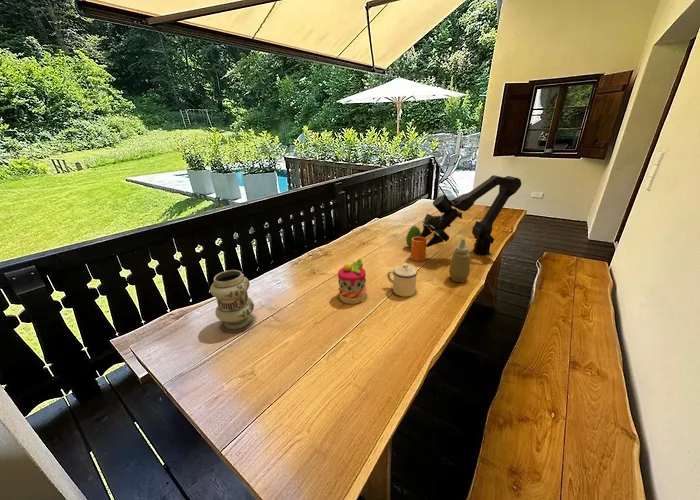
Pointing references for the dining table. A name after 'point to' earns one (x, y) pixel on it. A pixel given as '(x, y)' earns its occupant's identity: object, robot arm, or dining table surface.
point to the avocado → (412, 235)
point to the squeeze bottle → (460, 263)
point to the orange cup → (418, 248)
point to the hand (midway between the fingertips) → (422, 242)
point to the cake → (352, 282)
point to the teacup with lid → (403, 280)
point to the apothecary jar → (232, 300)
